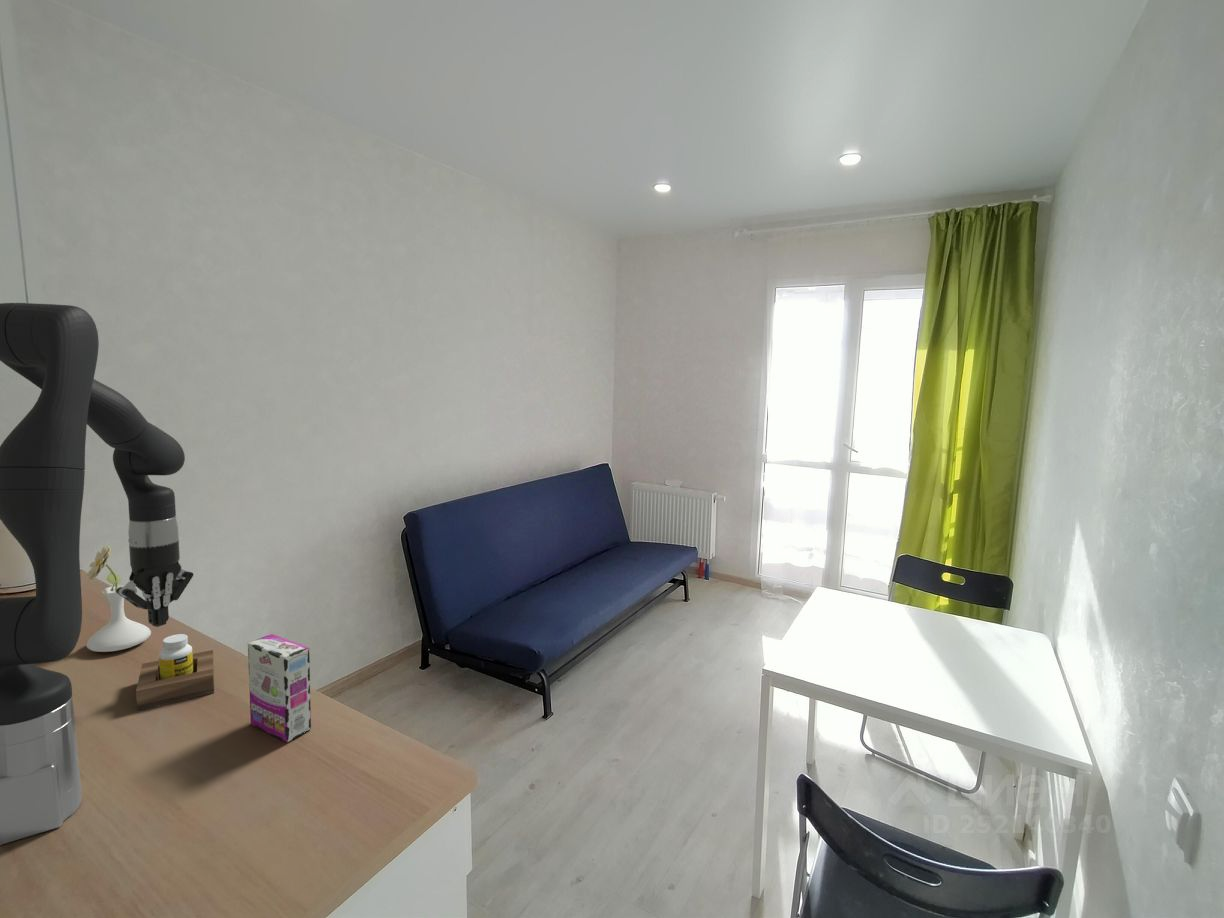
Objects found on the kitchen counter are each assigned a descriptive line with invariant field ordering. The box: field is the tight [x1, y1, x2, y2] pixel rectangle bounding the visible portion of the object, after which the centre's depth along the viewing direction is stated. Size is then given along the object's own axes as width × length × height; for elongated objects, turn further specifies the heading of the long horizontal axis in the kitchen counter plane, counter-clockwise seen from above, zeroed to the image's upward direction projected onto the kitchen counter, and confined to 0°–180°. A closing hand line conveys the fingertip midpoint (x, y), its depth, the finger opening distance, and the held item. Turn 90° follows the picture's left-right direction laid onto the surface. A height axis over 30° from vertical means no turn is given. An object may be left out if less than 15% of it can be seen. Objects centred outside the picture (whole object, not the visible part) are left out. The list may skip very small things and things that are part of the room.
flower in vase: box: [85, 545, 152, 653], centre depth 128 cm, size 13×11×25 cm
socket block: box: [135, 649, 215, 711], centre depth 115 cm, size 12×12×4 cm
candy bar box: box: [247, 633, 312, 743], centre depth 103 cm, size 11×5×16 cm, turn 64°
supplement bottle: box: [158, 633, 194, 680], centre depth 114 cm, size 5×5×10 cm
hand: (159, 624), depth 111 cm, fingers closed
